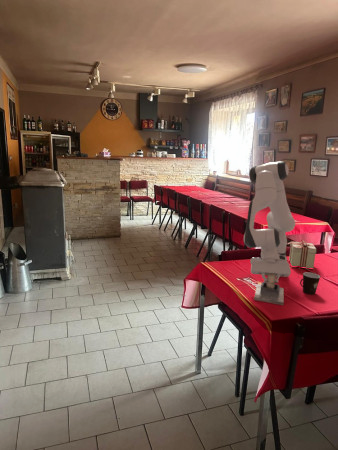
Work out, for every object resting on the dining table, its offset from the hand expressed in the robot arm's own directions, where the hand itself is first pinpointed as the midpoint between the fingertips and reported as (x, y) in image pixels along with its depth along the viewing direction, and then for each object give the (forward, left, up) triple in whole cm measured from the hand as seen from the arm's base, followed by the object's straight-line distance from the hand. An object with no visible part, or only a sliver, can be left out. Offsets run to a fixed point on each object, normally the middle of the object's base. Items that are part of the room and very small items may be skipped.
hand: (271, 282), depth 173 cm
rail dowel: (-1, 0, -5) cm, 5 cm away
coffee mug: (-15, +19, -8) cm, 25 cm away
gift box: (-65, +17, -8) cm, 67 cm away
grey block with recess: (-1, 0, -7) cm, 7 cm away
